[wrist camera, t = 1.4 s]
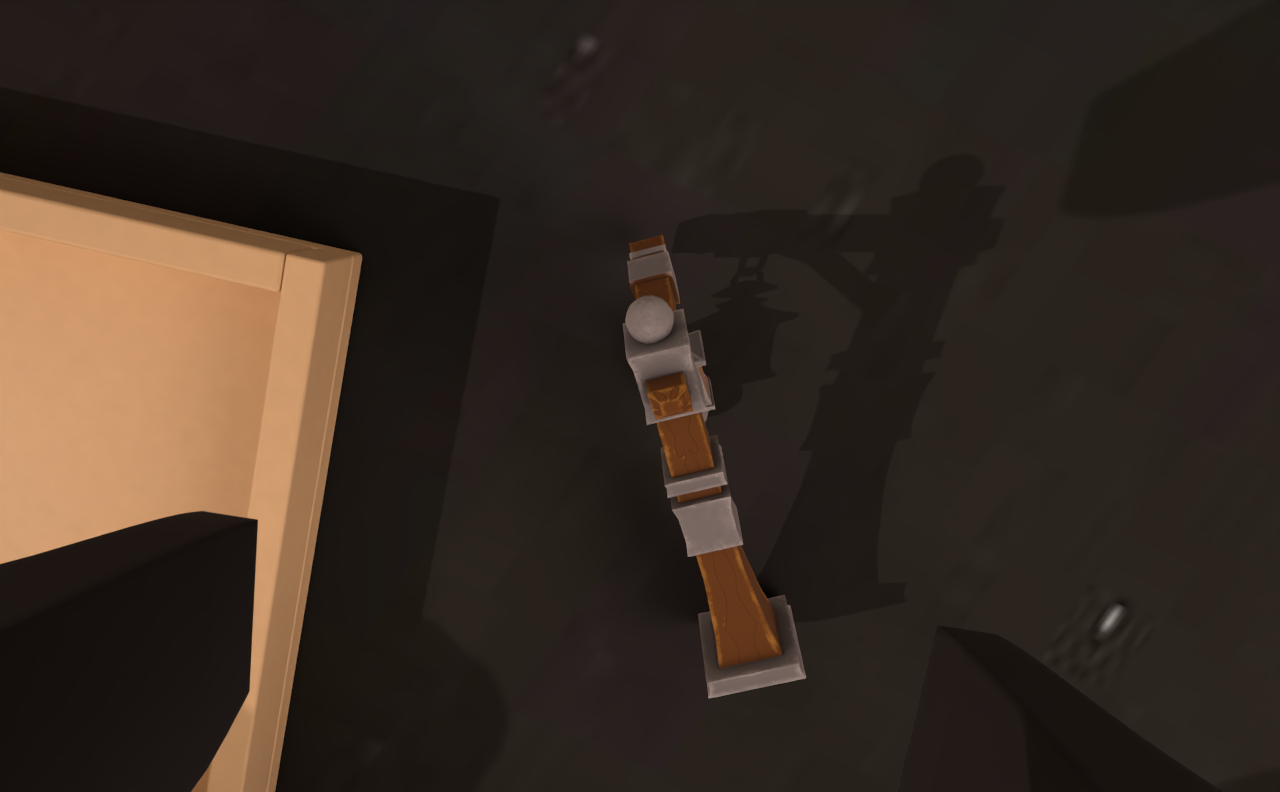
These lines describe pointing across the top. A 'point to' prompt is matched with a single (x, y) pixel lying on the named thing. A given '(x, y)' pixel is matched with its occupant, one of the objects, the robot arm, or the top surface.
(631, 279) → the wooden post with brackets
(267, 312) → the tray
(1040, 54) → the top surface
